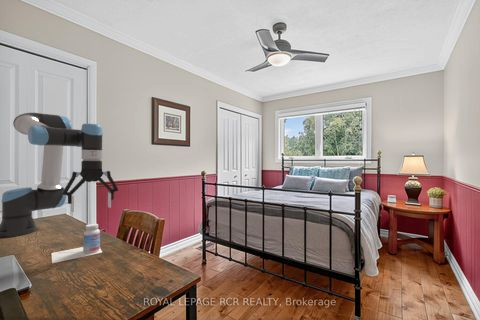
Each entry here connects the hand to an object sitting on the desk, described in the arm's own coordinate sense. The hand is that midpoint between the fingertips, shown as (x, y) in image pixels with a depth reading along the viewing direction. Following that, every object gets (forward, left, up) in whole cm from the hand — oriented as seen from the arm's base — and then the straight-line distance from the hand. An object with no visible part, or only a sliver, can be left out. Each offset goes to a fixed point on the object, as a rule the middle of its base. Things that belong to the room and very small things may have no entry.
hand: (91, 209), depth 102 cm
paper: (-2, -5, -18) cm, 19 cm away
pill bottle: (0, 0, -18) cm, 18 cm away
